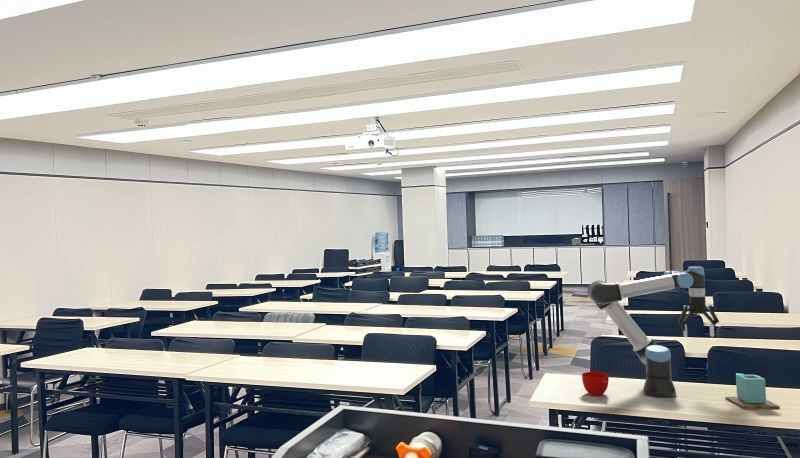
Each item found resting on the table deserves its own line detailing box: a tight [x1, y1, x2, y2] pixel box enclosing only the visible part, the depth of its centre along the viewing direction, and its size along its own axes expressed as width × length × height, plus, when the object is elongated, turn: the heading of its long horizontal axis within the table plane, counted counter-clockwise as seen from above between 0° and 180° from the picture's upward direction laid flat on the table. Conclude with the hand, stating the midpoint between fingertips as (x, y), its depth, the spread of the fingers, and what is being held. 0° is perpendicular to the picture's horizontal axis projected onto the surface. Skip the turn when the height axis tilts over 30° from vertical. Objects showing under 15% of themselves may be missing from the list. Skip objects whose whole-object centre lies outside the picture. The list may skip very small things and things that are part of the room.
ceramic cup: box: [581, 371, 610, 397], centre depth 288 cm, size 13×17×10 cm
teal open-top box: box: [735, 374, 767, 403], centre depth 266 cm, size 8×8×11 cm
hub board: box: [724, 396, 781, 410], centre depth 266 cm, size 16×16×12 cm
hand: (698, 336), depth 296 cm, fingers open, 13 cm apart
